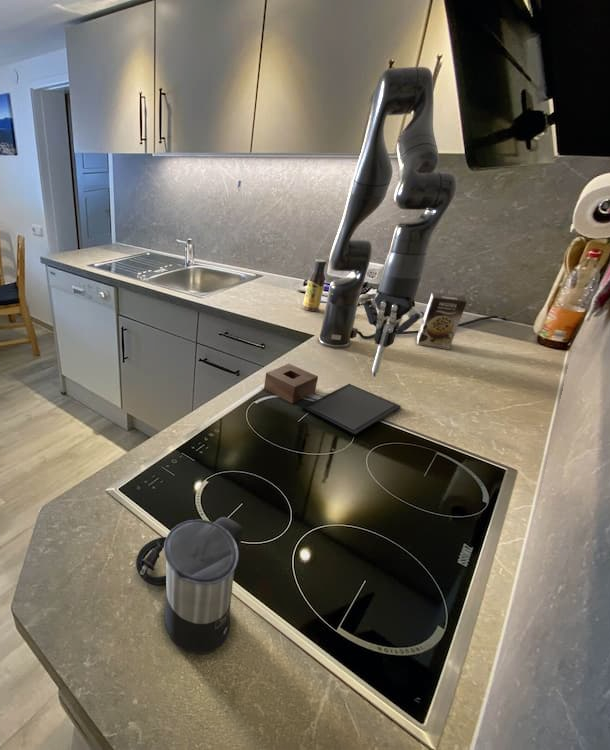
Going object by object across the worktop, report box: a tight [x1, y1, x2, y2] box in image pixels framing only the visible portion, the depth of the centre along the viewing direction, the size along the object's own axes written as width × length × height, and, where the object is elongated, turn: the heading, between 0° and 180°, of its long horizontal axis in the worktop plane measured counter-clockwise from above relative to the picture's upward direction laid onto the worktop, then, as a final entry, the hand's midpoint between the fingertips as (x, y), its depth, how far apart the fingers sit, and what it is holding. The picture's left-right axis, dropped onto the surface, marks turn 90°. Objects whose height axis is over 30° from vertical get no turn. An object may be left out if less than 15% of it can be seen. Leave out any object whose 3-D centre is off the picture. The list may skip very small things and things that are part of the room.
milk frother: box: [135, 516, 244, 655], centre depth 57 cm, size 14×16×15 cm
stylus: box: [371, 323, 389, 377], centre depth 100 cm, size 1×1×14 cm
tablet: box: [301, 383, 402, 438], centre depth 103 cm, size 20×14×1 cm
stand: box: [263, 363, 319, 405], centre depth 111 cm, size 9×9×5 cm
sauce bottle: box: [302, 258, 327, 312], centre depth 164 cm, size 6×6×20 cm
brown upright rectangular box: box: [416, 292, 468, 350], centre depth 134 cm, size 9×6×16 cm
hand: (382, 344), depth 99 cm, fingers closed on stylus, 1 cm apart
